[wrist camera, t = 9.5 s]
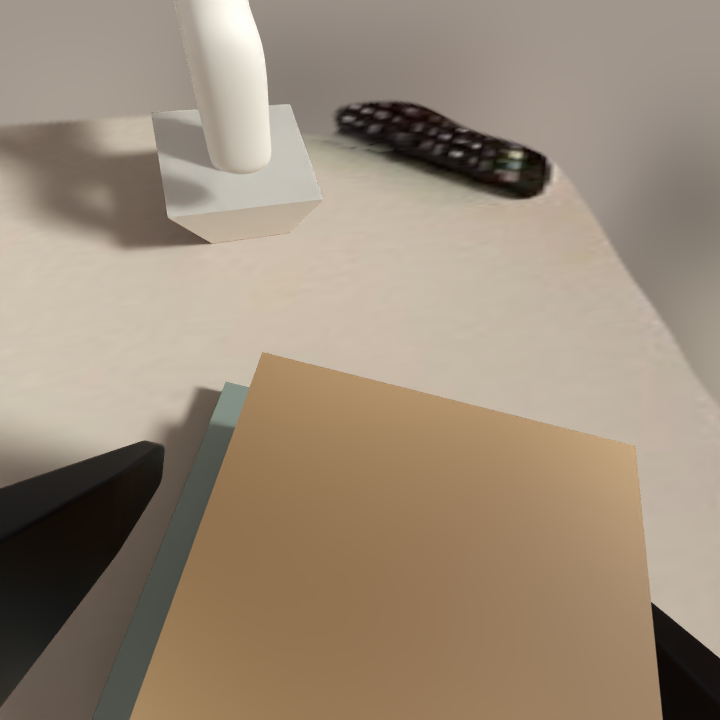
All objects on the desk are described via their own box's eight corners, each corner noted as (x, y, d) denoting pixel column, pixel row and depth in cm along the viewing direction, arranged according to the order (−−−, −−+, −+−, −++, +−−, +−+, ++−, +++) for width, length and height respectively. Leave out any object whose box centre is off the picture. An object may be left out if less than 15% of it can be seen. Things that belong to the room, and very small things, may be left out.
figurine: (190, 285, 21) (-7, -192, 7) (169, 159, 24) (7, -324, 11) (325, 263, 23) (363, -154, 9) (287, 148, 26) (274, -278, 13)
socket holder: (449, 794, 14) (502, 882, 10) (106, 719, 13) (35, 783, 10) (477, 455, 19) (518, 433, 15) (231, 393, 19) (214, 357, 15)
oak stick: (368, 638, 14) (698, 1082, 2) (257, 613, 14) (44, 955, 2) (387, 519, 16) (635, 445, 4) (289, 496, 16) (262, 352, 4)
